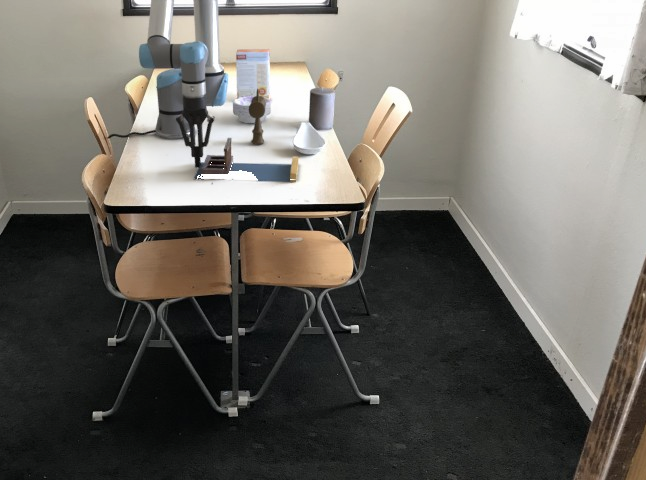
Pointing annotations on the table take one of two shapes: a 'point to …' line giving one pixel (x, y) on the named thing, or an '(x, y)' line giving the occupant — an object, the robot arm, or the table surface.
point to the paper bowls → (242, 109)
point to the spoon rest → (308, 139)
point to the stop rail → (294, 169)
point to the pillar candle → (321, 108)
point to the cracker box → (253, 72)
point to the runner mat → (261, 171)
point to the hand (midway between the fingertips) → (197, 166)
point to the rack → (219, 161)
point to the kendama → (257, 117)
